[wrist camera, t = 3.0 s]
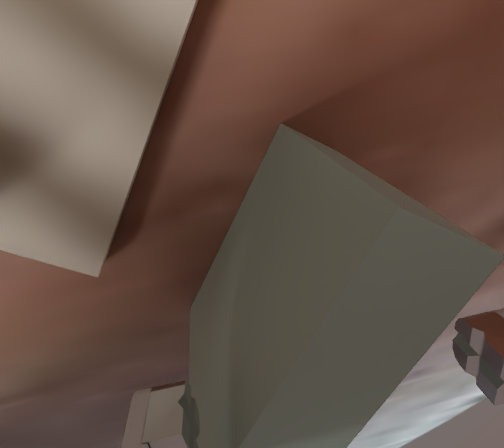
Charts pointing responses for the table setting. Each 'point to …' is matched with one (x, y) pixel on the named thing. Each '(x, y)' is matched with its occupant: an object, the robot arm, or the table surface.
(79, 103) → the shelf
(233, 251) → the grey flat block
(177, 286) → the table surface
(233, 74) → the table surface
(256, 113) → the table surface
